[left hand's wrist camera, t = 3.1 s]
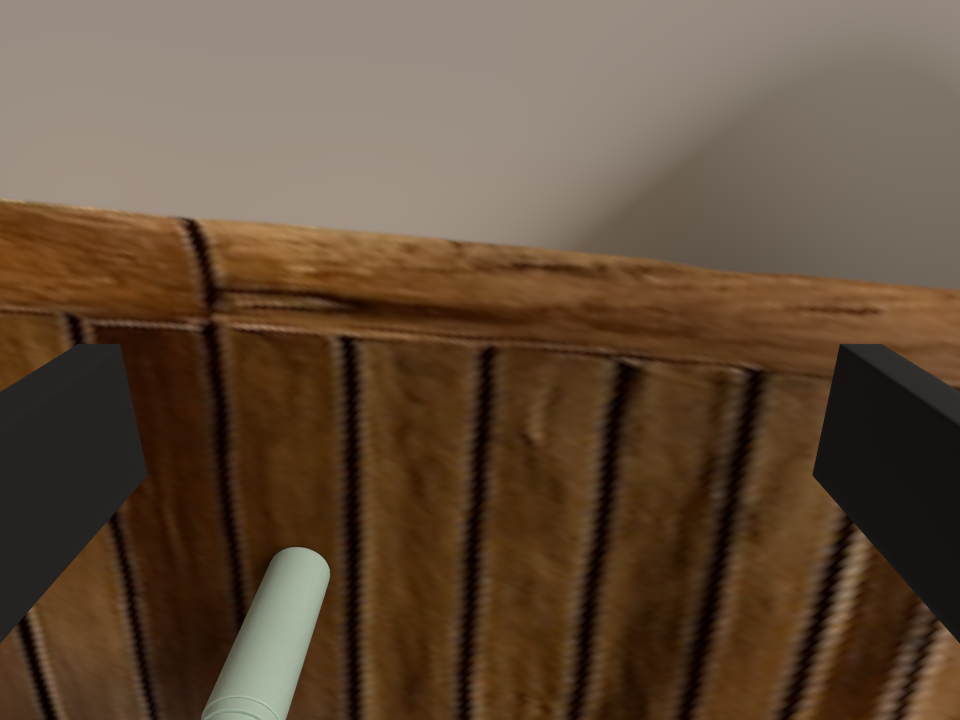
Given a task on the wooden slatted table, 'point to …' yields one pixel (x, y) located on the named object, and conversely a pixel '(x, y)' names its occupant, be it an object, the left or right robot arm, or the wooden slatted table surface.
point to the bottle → (272, 640)
